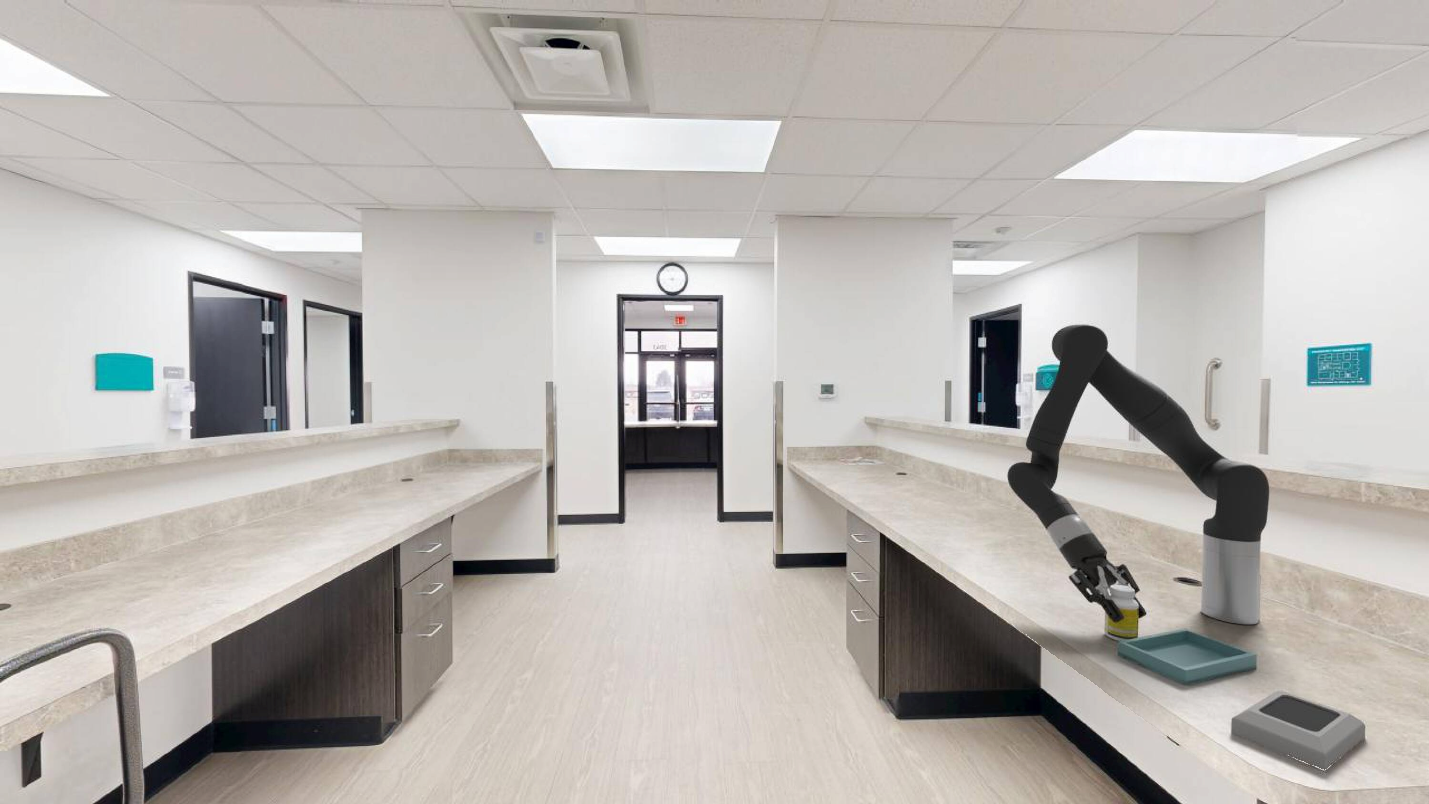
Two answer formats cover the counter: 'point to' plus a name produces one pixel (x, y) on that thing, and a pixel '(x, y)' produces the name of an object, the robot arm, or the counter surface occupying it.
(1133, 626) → the supplement bottle
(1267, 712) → the gray beveled slab
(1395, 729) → the counter surface
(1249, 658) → the tray
